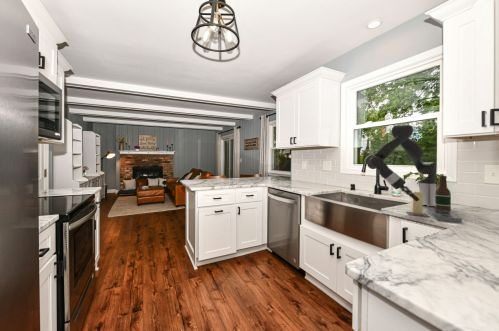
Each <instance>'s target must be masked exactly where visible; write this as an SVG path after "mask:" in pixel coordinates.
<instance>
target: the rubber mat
mask: <svg viewBox="0 0 499 331" xmlns="http://www.w3.org/2000/svg"><path fill="white" fill-rule="evenodd" d="M406 214H407V215H408V216H414V217H425V218H430V215H429V214H428V213H427V212H422V215H417V214H413V213H412V211H406Z"/></svg>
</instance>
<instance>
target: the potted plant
mask: <svg viewBox="0 0 499 331" xmlns="http://www.w3.org/2000/svg"><path fill="white" fill-rule="evenodd" d="M447 177H448V176H447V175H440V176H439V183H438V185H439V186H438V188H437V189H436V194H435V208H434V209H443V210H447V211H449V212H451V211H452V210H451V206H452V204H451V203H452V202H451V201H452V200H451V199H452V198H451V197H452V195H451V191H450V190H449V188H448V185H447V184H448V183H447V182H448V181H447V179H448V178H447Z"/></svg>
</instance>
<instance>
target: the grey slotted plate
mask: <svg viewBox="0 0 499 331" xmlns="http://www.w3.org/2000/svg"><path fill="white" fill-rule="evenodd" d="M425 213H426V214H428V215H429V216H431V217H433V218H434V219H435V220H436V221H438V222H448V223H457V224H462V223H463V220H462V218H461V217H460V216H458V215H457V214H455V213H453V212H451V211H450V212H449V211H447V210H443V209H435V208H431V207H430V208H428V207H427V208H426V212H425Z"/></svg>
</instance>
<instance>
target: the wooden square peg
mask: <svg viewBox="0 0 499 331" xmlns="http://www.w3.org/2000/svg"><path fill="white" fill-rule="evenodd" d="M412 193H414V195H415V196H416V197H418V198H419V200H418V201H415V200H414V199H413V198H411V212H412V213H413V214H417V215H422V213H423V206H422V201H423V194H422V193H420V191H412Z"/></svg>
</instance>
